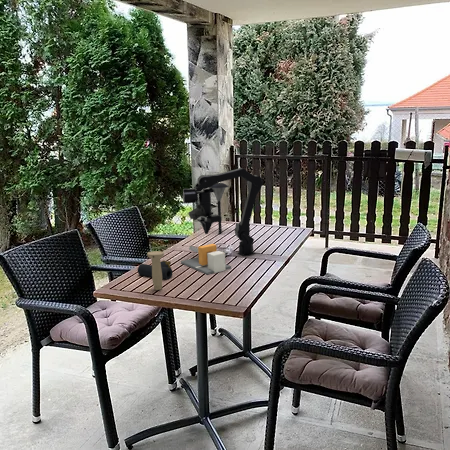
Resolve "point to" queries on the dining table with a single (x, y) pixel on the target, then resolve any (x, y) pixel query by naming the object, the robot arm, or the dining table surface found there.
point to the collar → (205, 253)
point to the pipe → (194, 249)
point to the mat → (200, 266)
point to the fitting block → (216, 261)
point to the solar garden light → (219, 198)
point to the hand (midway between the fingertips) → (206, 233)
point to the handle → (156, 268)
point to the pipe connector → (147, 270)
